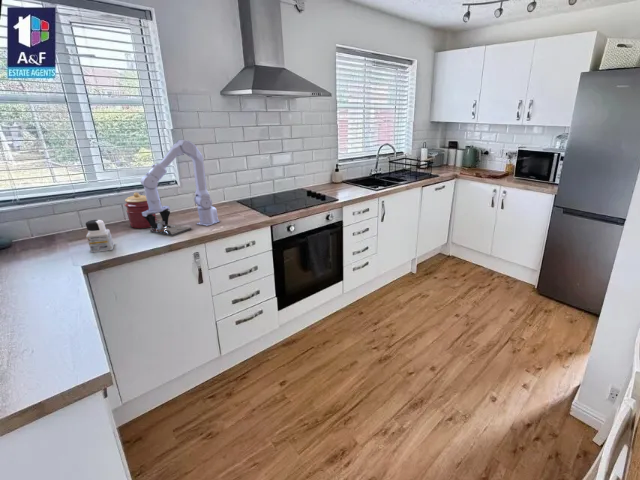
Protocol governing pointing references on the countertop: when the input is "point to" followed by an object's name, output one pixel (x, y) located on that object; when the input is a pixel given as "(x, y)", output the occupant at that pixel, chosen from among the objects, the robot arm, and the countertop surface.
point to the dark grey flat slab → (172, 230)
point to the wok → (161, 225)
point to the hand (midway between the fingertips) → (160, 226)
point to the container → (98, 236)
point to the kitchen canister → (137, 211)
